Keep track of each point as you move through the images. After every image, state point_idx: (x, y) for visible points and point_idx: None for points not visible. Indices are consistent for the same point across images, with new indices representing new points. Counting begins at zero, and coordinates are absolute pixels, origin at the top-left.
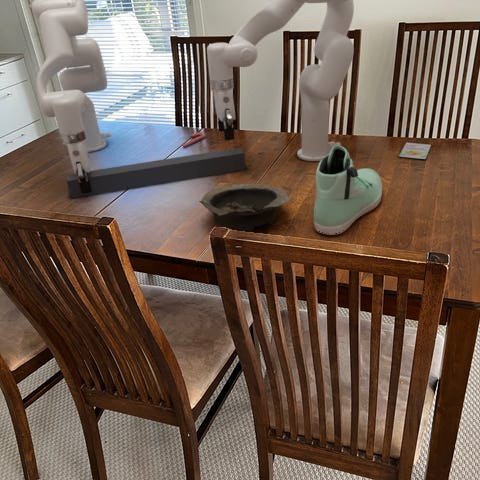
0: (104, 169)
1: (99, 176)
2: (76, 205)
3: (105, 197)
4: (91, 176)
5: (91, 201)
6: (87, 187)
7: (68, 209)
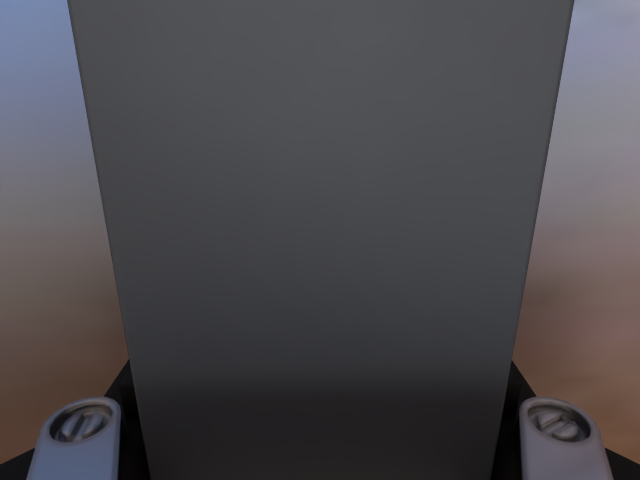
0: (141, 69)
1: (535, 203)
2: (589, 405)
3: (569, 118)
4: (478, 370)
5: (583, 275)
6: (513, 363)
7: (632, 460)
